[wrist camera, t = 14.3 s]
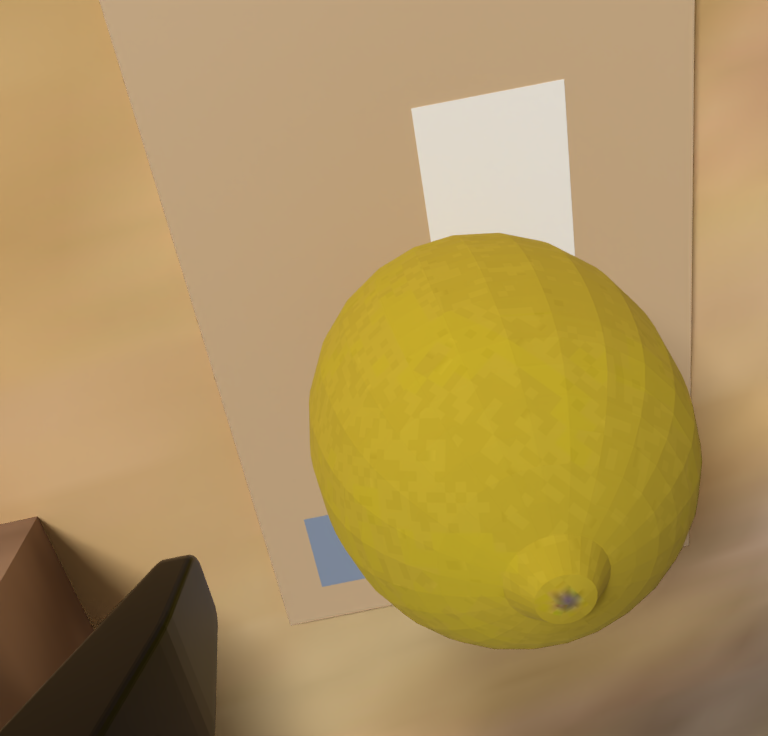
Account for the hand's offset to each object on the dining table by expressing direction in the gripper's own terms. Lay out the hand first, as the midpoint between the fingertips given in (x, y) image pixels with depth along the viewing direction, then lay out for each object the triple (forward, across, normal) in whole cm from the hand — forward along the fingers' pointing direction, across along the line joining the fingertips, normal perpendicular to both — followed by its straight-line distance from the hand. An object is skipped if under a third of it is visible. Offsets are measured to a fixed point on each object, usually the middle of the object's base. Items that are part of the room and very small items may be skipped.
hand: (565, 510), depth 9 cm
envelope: (+7, 0, 0) cm, 7 cm away
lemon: (+7, 0, 0) cm, 7 cm away
